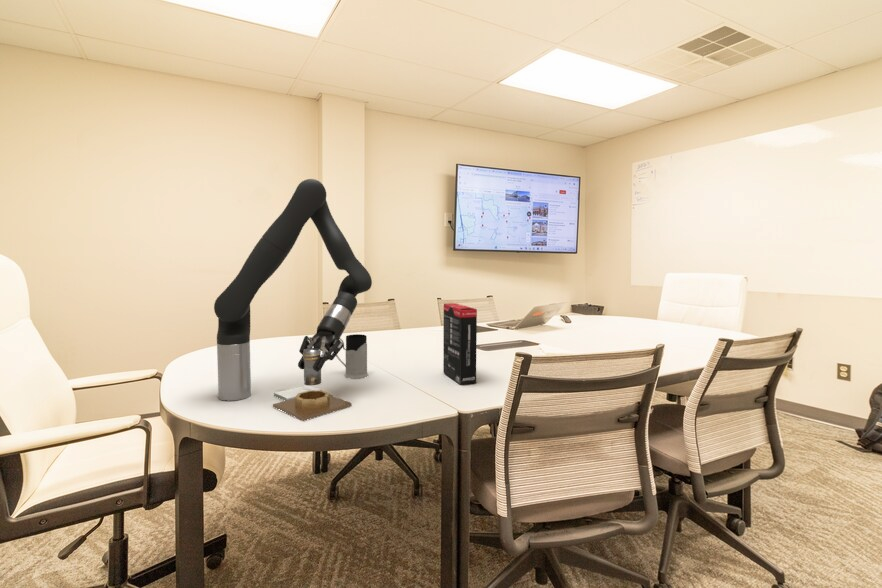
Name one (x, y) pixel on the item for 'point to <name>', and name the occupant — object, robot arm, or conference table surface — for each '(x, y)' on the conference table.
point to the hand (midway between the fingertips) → (308, 368)
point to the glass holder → (355, 356)
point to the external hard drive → (293, 392)
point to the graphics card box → (460, 343)
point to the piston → (311, 366)
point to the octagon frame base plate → (312, 404)
